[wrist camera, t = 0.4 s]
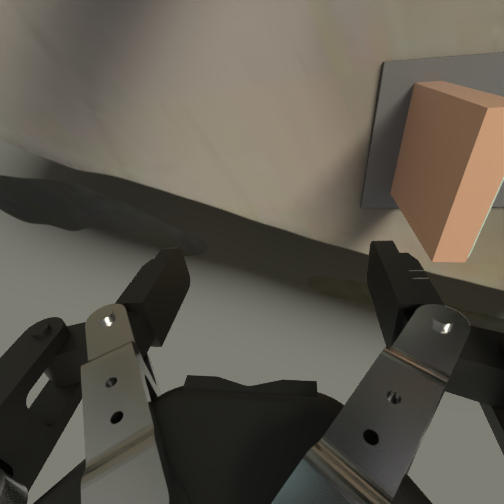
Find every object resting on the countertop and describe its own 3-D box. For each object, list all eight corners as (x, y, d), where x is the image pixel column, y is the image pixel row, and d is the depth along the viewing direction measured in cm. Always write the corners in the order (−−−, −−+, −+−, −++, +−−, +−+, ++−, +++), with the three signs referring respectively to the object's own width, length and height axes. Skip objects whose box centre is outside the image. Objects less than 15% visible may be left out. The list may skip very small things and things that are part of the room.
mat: (360, 206, 38) (361, 208, 38) (383, 61, 29) (384, 61, 28) (560, 204, 35) (563, 206, 34) (660, 39, 25) (666, 39, 25)
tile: (390, 193, 36) (432, 261, 25) (414, 82, 29) (487, 108, 18) (415, 192, 35) (469, 262, 24) (445, 80, 29) (541, 104, 17)
